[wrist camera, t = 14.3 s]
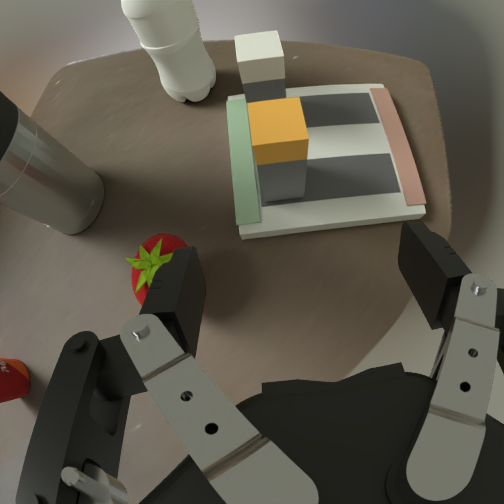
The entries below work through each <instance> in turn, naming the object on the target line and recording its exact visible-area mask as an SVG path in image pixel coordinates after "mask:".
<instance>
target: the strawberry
mask: <svg viewBox="0 0 504 504" xmlns="http://www.w3.org/2000/svg"><path fill="white" fill-rule="evenodd" d="M184 247H187V245H186V244H185V243H184V242H183V241H182V240H181V239H180V238H178V237H176V236H174V235H169V234H158V235H155V236H153V237H151V238H150V239H148V240H147V241H146V242H145V243H144V244H143V245H142V246H141V245H140V244H139V251H138V253H137V255H136V257H135V259H134V258H125V259H126V260H127V261H128V262H129V263H130V264H131V265H132V266H133V267H132V286H133V291H134V294H135V296H136V298H137V300H138V301H139V303H140V304H141V305H143V302H144V300H145V297H146V294H147V292H148V290H149V287H150V284H151V283H152V279H153V276H154V274H155V271H156V270H157V269H158V268H159V267H160V266H161V265H162V264H163V263H167V262H170V260H171V257H172V255H173V252H174V250H175V249H176V248H184Z"/></svg>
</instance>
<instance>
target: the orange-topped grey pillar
mask: <svg viewBox="0 0 504 504" xmlns="http://www.w3.org/2000/svg"><path fill="white" fill-rule="evenodd" d="M247 107H248V115H249V123H250V132H251V140H252V147H253V151H254V156H255V160H256V165H257V169H258V173H259V178H260V182H261V187H262V191H263V196H264V200H265V202H269V201H277V200H285V199H293V198H301V197H304V193H305V181H306V170H307V158H308V145H309V137H308V133H307V128H306V124H305V119H304V115H303V111H302V106H301V102H300V98H299V97H293V98H283V99H275V100H266V101H259V102H252V103H247Z"/></svg>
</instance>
